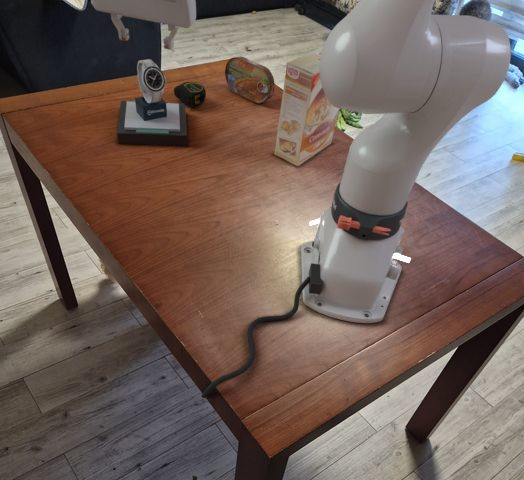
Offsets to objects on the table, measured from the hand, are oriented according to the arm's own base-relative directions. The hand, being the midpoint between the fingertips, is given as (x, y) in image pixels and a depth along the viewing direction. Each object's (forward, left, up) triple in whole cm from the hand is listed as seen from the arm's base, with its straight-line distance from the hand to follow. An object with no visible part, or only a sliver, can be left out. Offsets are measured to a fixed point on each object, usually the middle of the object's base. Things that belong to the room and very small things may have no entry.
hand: (146, 44), depth 95 cm
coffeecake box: (+5, -35, -18) cm, 40 cm away
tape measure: (+15, -4, -18) cm, 24 cm away
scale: (0, 0, -18) cm, 18 cm away
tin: (+26, -17, -18) cm, 35 cm away
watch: (0, 0, -15) cm, 15 cm away
